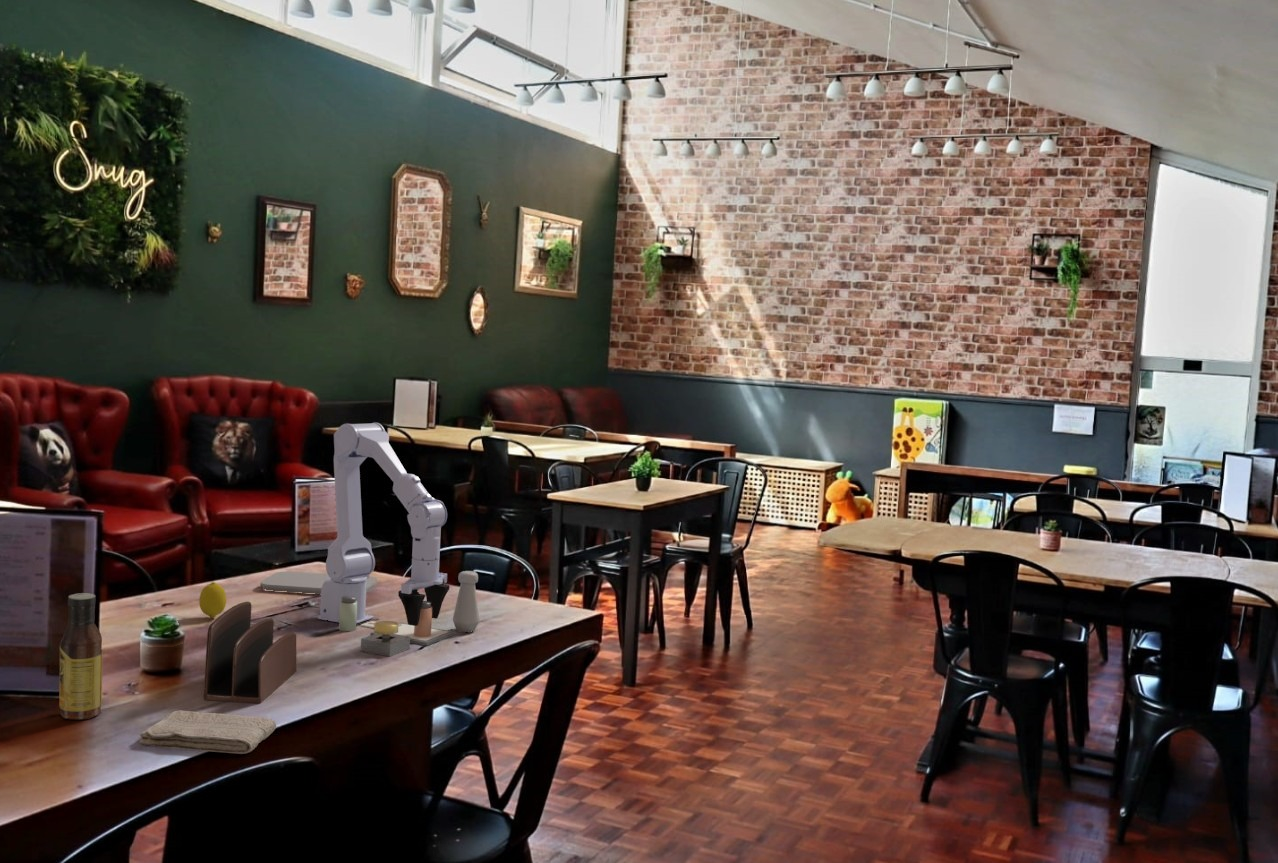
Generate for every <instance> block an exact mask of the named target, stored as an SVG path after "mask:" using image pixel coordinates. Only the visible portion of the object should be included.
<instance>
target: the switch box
mask: <svg viewBox="0 0 1278 863" xmlns="http://www.w3.org/2000/svg"><path fill="white" fill-rule="evenodd" d="M410 646H411V643H410V637H409V636H403V635H397V634H390V640H382V634H377V633H376V634H374V635H371V634H370V635H368V636H365V637H363V638H360V652H363V651H364V653H369V654H375V655H378V656H379V655H380V656H385V657H392V656H394V655H397V654H399V653H402V652H405V651H407V650H410V648H411V647H410Z"/></svg>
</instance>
